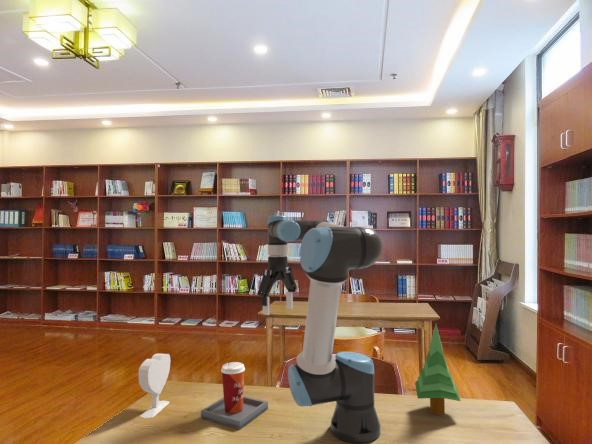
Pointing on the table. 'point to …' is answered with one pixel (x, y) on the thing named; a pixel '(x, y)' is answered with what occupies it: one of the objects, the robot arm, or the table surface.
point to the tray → (237, 420)
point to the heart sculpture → (154, 381)
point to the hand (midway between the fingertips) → (278, 311)
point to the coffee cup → (233, 386)
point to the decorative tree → (436, 378)
